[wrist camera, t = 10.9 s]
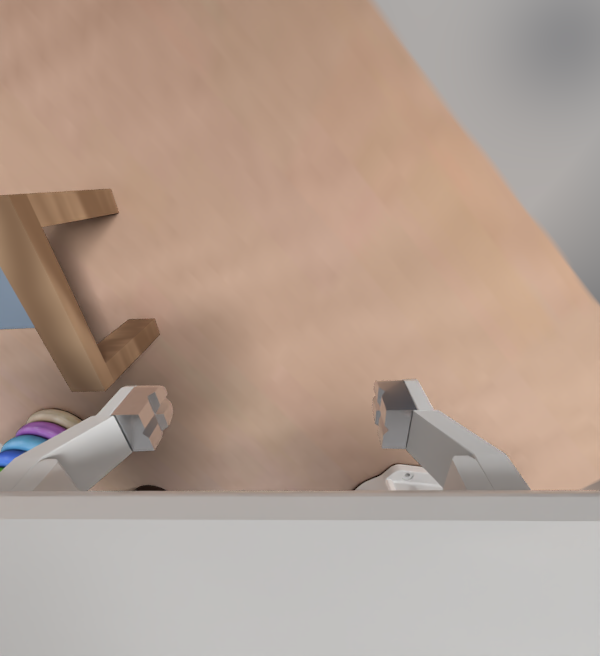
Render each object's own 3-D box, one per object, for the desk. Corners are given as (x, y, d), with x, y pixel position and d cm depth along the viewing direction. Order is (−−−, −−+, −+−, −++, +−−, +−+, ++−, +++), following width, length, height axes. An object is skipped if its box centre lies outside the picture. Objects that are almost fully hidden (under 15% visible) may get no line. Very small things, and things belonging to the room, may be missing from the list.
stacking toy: (24, 404, 38) (-192, 577, 22) (81, 406, 38) (-93, 581, 22) (48, 444, 42) (-121, 616, 26) (100, 446, 42) (-36, 620, 25)
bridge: (110, 188, 25) (7, 194, 17) (159, 334, 32) (105, 391, 24) (78, 190, 25) (-40, 197, 17) (134, 335, 32) (71, 391, 24)
